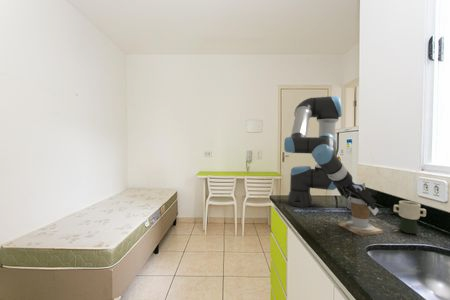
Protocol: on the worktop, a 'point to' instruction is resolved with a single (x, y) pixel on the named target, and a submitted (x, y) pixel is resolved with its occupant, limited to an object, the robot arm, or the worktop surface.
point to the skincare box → (350, 192)
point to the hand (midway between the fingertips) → (366, 209)
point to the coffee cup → (359, 211)
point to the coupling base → (360, 228)
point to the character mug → (409, 215)
